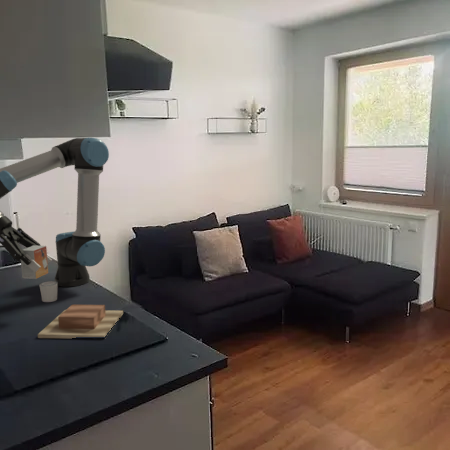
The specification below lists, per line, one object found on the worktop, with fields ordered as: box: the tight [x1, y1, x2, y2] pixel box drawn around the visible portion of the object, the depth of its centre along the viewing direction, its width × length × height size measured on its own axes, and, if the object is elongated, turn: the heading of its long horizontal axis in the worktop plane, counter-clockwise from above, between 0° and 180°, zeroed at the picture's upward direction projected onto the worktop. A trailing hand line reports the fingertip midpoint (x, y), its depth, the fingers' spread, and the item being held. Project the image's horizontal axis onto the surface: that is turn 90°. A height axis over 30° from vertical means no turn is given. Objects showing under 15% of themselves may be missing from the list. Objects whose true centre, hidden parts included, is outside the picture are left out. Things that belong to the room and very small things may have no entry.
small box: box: [20, 245, 49, 280], centre depth 163 cm, size 8×6×10 cm
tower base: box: [37, 304, 124, 339], centre depth 156 cm, size 22×22×5 cm
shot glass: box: [39, 280, 58, 303], centre depth 182 cm, size 7×7×7 cm
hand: (43, 265), depth 163 cm, fingers closed on small box, 9 cm apart
